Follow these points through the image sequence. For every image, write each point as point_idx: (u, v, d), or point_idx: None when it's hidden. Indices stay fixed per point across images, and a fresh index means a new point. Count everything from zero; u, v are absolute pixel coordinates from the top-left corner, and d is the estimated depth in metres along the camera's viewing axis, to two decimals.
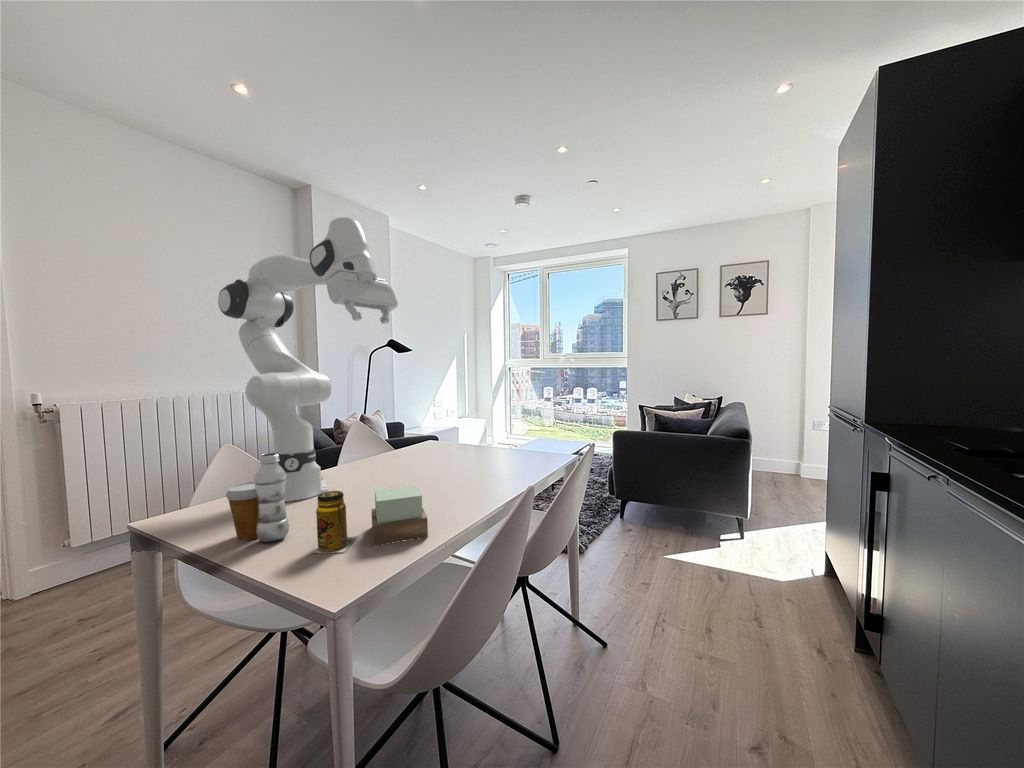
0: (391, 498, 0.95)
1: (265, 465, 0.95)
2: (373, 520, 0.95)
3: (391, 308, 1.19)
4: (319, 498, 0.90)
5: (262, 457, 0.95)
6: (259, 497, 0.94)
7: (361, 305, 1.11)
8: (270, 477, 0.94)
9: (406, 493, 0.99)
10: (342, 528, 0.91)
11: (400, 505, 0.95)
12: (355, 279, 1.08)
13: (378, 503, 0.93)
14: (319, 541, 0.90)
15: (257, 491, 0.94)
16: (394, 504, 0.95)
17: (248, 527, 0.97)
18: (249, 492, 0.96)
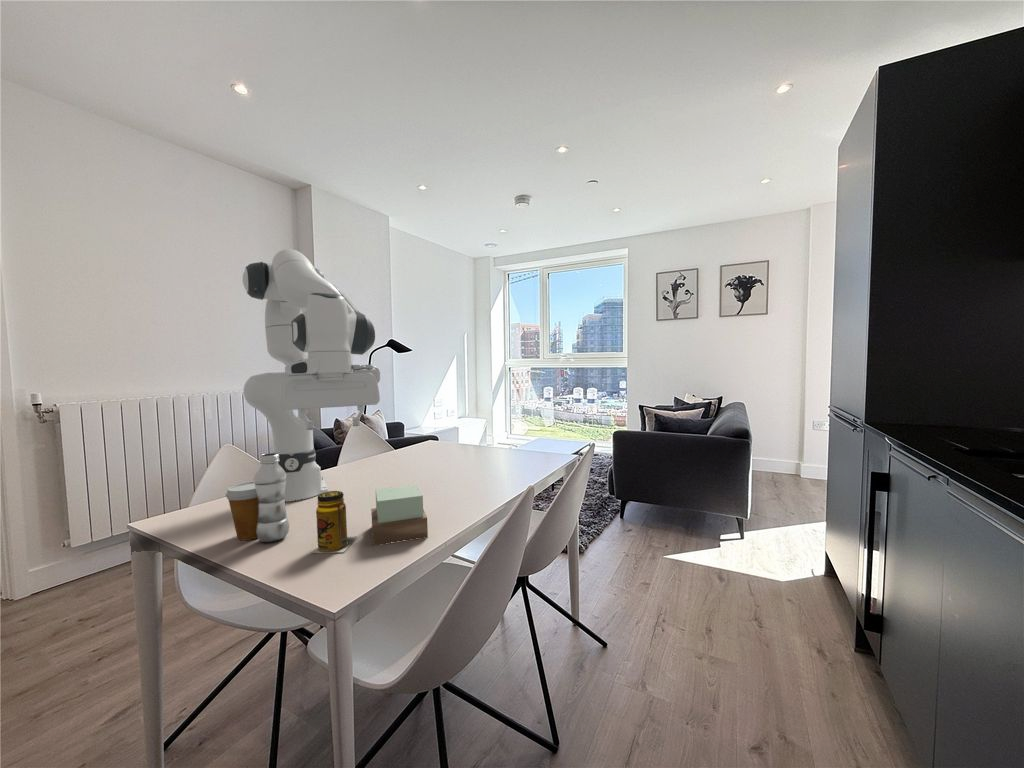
0: (392, 498, 0.95)
1: (265, 465, 0.95)
2: (373, 520, 0.95)
3: None
4: (319, 498, 0.90)
5: (262, 457, 0.95)
6: (259, 497, 0.94)
7: None
8: (270, 476, 0.94)
9: (407, 493, 0.99)
10: (342, 528, 0.91)
11: (401, 505, 0.95)
12: (312, 381, 0.89)
13: (379, 503, 0.93)
14: (319, 541, 0.90)
15: (257, 491, 0.94)
16: (395, 504, 0.95)
17: (248, 527, 0.97)
18: (249, 491, 0.96)
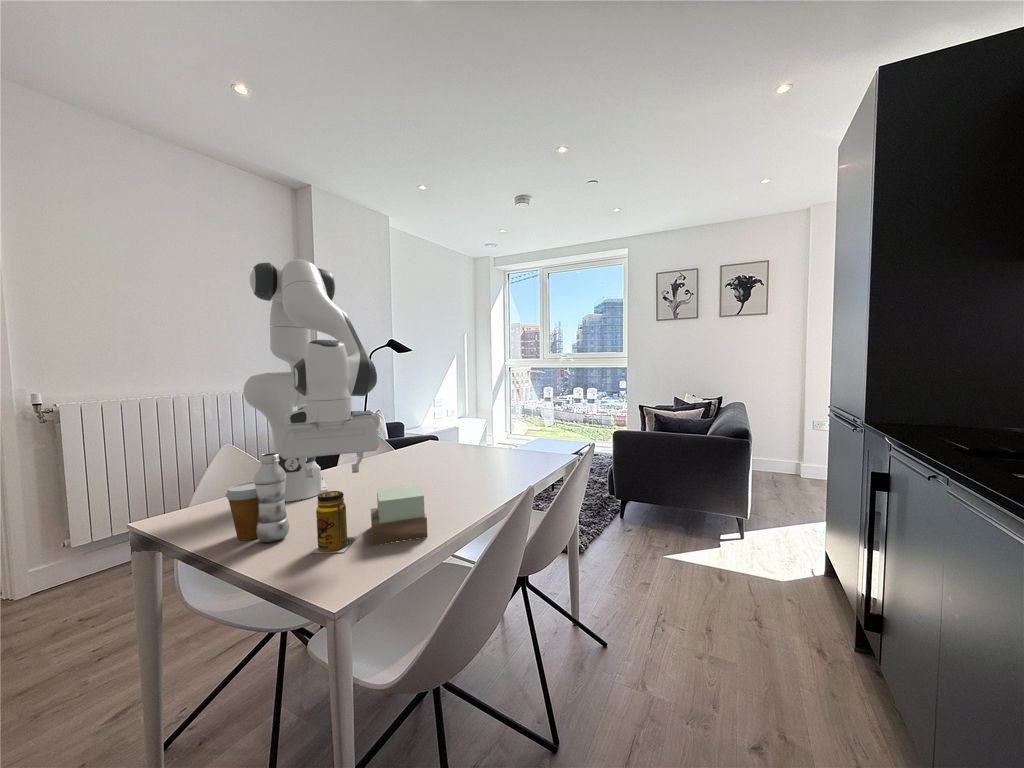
0: (393, 498, 0.95)
1: (265, 465, 0.95)
2: (373, 520, 0.95)
3: None
4: (319, 498, 0.90)
5: (262, 457, 0.95)
6: (259, 497, 0.94)
7: None
8: (270, 477, 0.94)
9: (408, 493, 0.99)
10: (342, 528, 0.91)
11: (402, 505, 0.95)
12: (311, 429, 0.89)
13: (380, 503, 0.93)
14: (319, 541, 0.90)
15: (257, 491, 0.94)
16: (396, 504, 0.95)
17: (248, 527, 0.97)
18: (249, 491, 0.96)
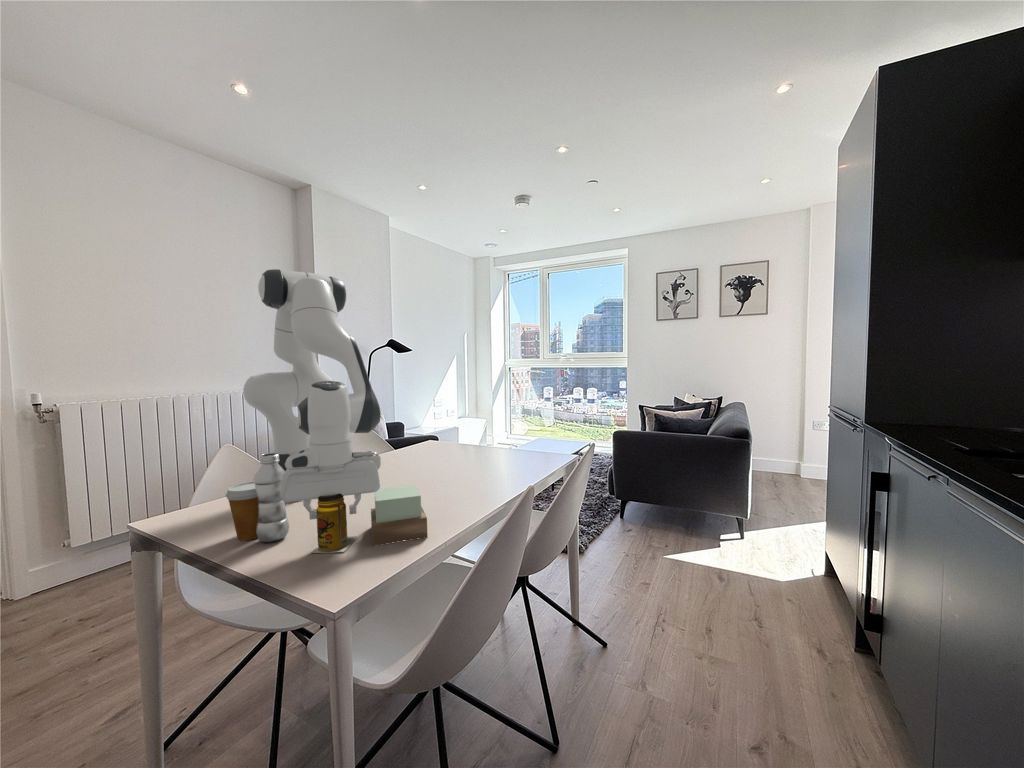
0: (390, 498, 0.95)
1: (265, 465, 0.95)
2: (373, 520, 0.95)
3: None
4: (319, 498, 0.90)
5: (262, 457, 0.95)
6: (259, 497, 0.94)
7: None
8: (270, 477, 0.94)
9: (405, 492, 0.99)
10: (342, 528, 0.91)
11: (399, 505, 0.95)
12: (312, 472, 0.89)
13: (377, 503, 0.93)
14: (319, 541, 0.90)
15: (257, 491, 0.94)
16: (393, 503, 0.95)
17: (248, 527, 0.97)
18: (249, 491, 0.96)
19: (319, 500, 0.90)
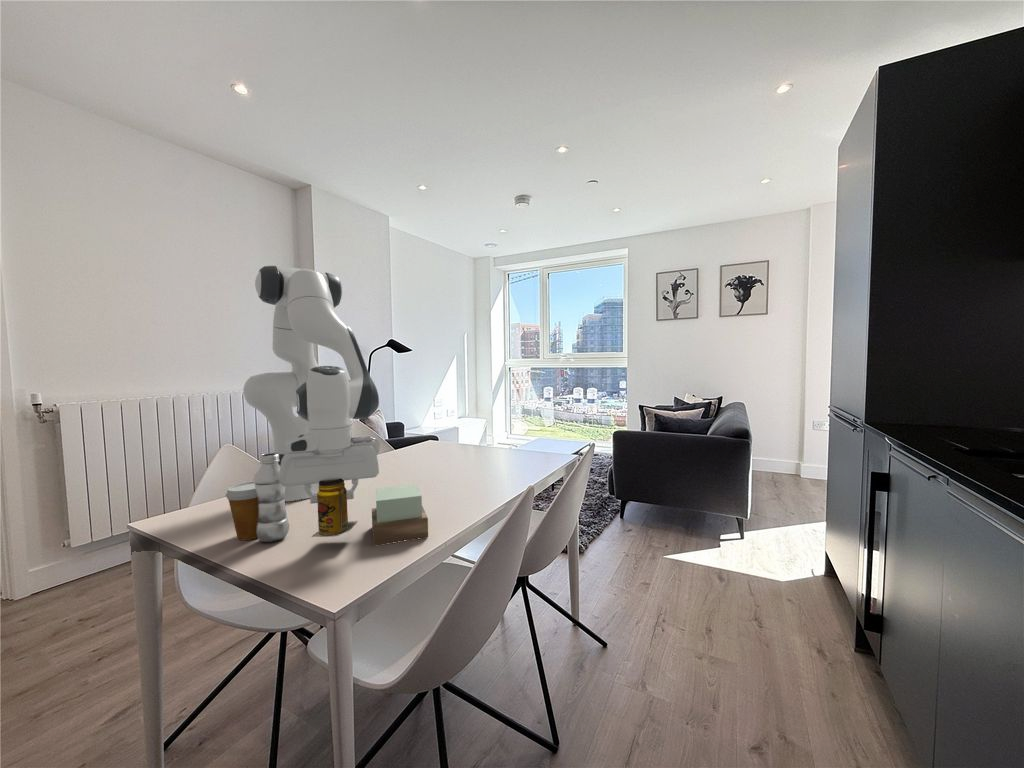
0: (391, 498, 0.95)
1: (265, 465, 0.95)
2: (373, 520, 0.95)
3: None
4: (320, 482, 0.90)
5: (262, 457, 0.95)
6: (259, 497, 0.94)
7: None
8: (270, 477, 0.94)
9: (407, 492, 0.99)
10: (343, 512, 0.92)
11: (400, 505, 0.95)
12: (311, 457, 0.89)
13: (377, 503, 0.93)
14: (320, 525, 0.90)
15: (257, 491, 0.94)
16: (393, 503, 0.95)
17: (248, 527, 0.97)
18: (249, 491, 0.96)
19: (320, 484, 0.90)
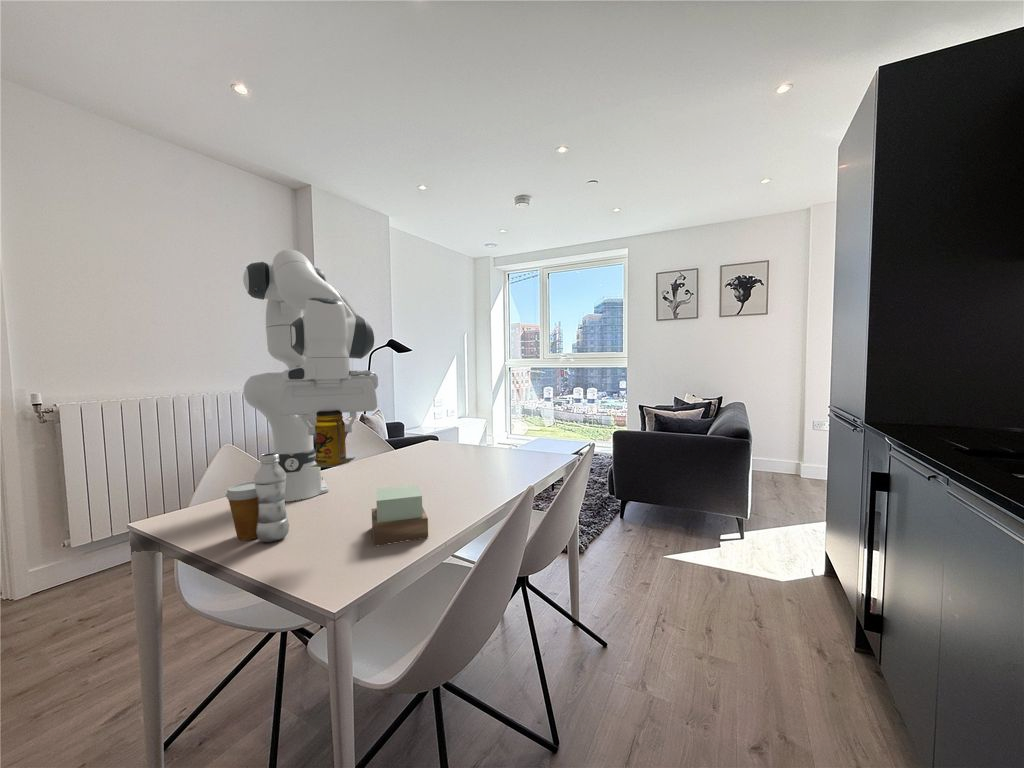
0: (391, 498, 0.95)
1: (265, 465, 0.95)
2: (373, 520, 0.95)
3: None
4: (318, 413, 0.89)
5: (262, 457, 0.95)
6: (259, 497, 0.94)
7: None
8: (270, 477, 0.94)
9: (407, 492, 0.99)
10: (341, 444, 0.91)
11: (400, 505, 0.95)
12: (309, 387, 0.89)
13: (378, 502, 0.93)
14: (318, 456, 0.90)
15: (257, 491, 0.94)
16: (394, 503, 0.95)
17: (248, 527, 0.97)
18: (249, 491, 0.96)
19: (318, 415, 0.90)
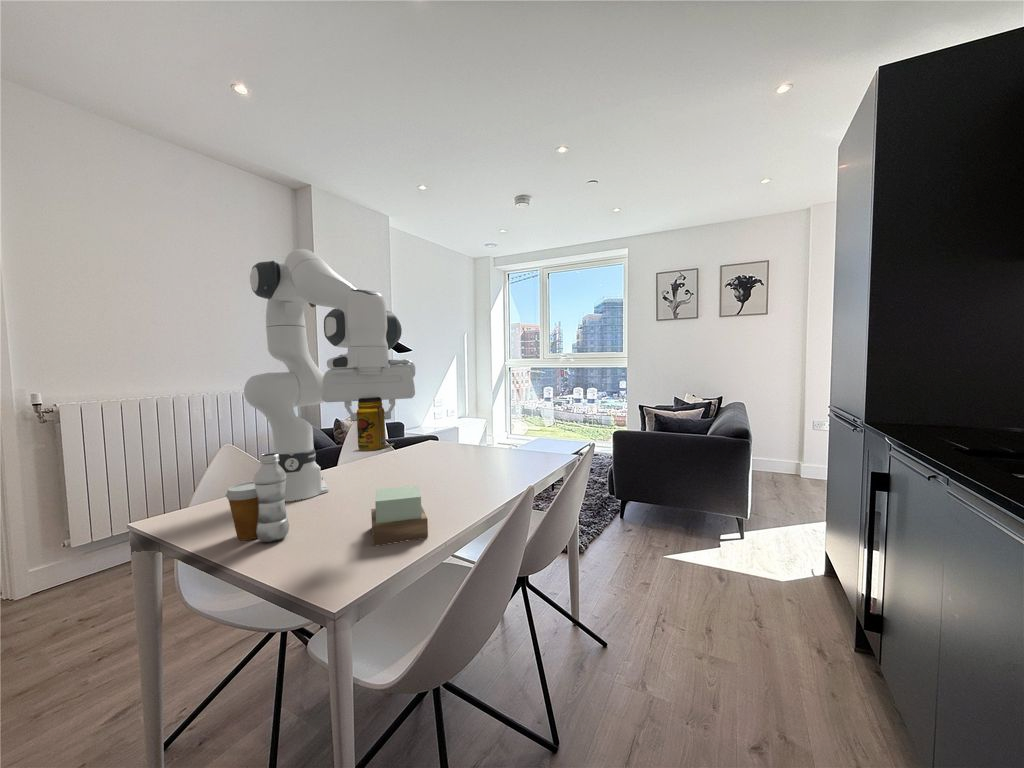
0: (390, 498, 0.95)
1: (265, 465, 0.95)
2: (373, 520, 0.95)
3: None
4: (360, 400, 0.93)
5: (262, 457, 0.95)
6: (259, 497, 0.94)
7: None
8: (270, 477, 0.94)
9: (406, 493, 0.99)
10: (381, 430, 0.94)
11: (399, 506, 0.95)
12: (351, 374, 0.93)
13: (377, 503, 0.93)
14: (360, 441, 0.93)
15: (257, 491, 0.94)
16: (393, 504, 0.94)
17: (248, 527, 0.97)
18: (249, 491, 0.96)
19: (359, 402, 0.93)
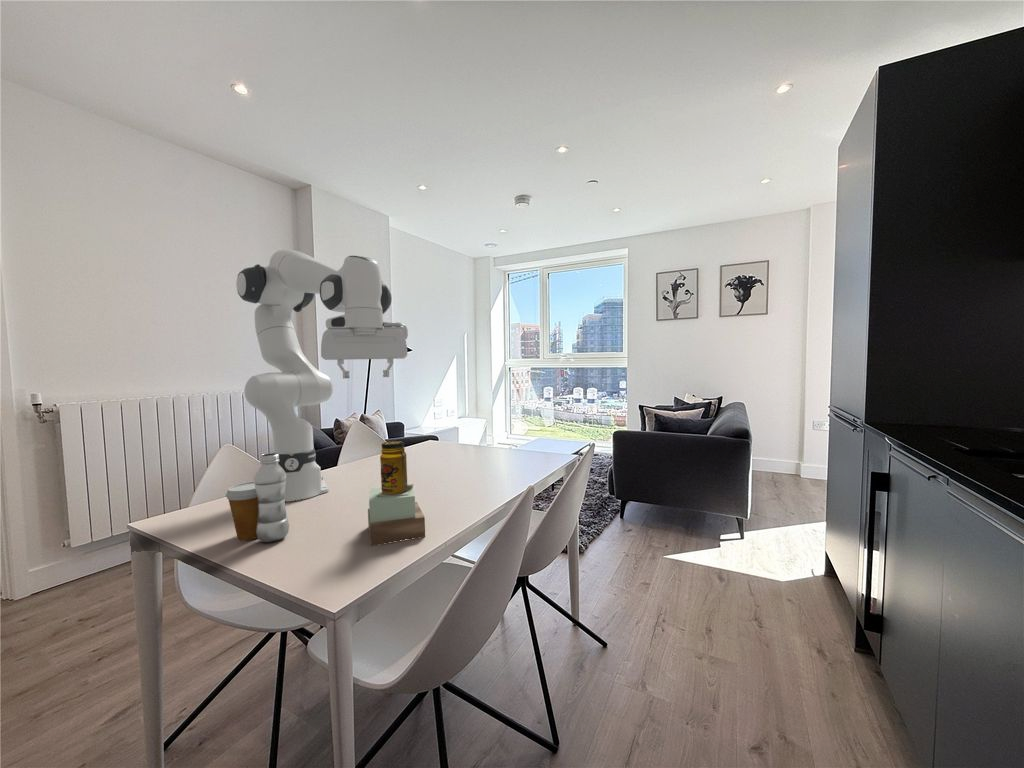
0: (384, 498, 0.95)
1: (265, 465, 0.95)
2: None
3: (400, 358, 1.06)
4: (384, 446, 0.97)
5: (262, 457, 0.95)
6: (259, 497, 0.94)
7: None
8: (270, 477, 0.94)
9: None
10: (404, 473, 0.99)
11: (393, 505, 0.95)
12: (348, 334, 1.00)
13: (370, 503, 0.94)
14: (384, 485, 0.97)
15: (257, 491, 0.94)
16: (386, 503, 0.95)
17: (248, 527, 0.97)
18: (249, 491, 0.96)
19: (384, 448, 0.97)
